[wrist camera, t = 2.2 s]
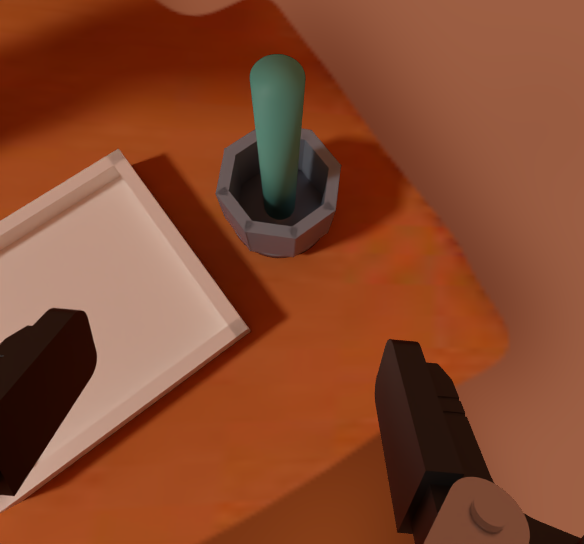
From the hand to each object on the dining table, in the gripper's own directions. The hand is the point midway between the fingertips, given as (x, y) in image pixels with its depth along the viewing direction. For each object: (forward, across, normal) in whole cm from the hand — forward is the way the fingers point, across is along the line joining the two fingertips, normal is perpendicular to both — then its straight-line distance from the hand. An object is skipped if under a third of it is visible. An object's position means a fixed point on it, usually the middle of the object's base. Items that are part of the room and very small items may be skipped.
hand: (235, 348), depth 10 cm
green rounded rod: (+21, 0, +4) cm, 21 cm away
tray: (+14, +14, +12) cm, 23 cm away
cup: (+21, 0, +5) cm, 22 cm away
